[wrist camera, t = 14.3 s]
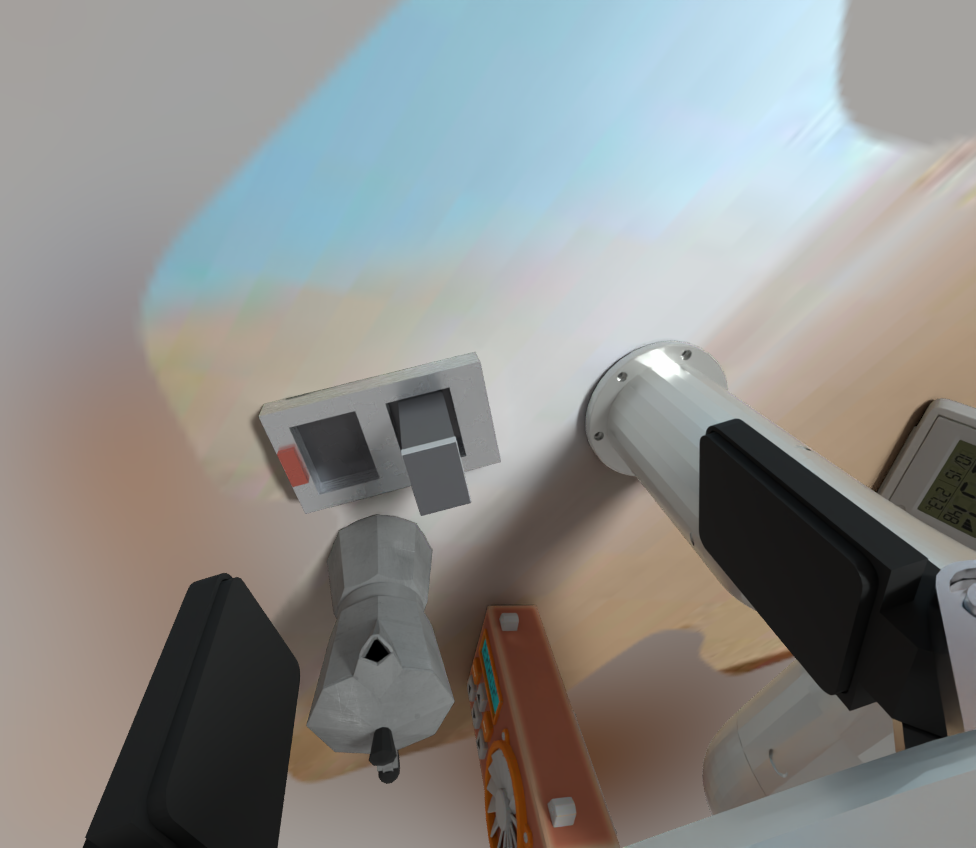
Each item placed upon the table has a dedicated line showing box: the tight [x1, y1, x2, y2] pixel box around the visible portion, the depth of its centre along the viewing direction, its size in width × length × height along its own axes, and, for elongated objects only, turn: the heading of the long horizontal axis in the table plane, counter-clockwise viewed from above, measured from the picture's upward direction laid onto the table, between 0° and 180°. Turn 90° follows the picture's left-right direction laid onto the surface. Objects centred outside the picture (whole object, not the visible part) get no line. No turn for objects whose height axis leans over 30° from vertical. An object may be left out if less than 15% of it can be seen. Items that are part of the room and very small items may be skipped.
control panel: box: [467, 605, 620, 848], centre depth 46 cm, size 21×7×15 cm
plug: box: [398, 389, 471, 516], centre depth 36 cm, size 4×5×8 cm
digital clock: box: [877, 398, 976, 551], centre depth 49 cm, size 16×9×11 cm, turn 163°
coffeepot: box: [306, 515, 455, 784], centre depth 38 cm, size 15×9×18 cm, turn 178°
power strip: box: [259, 352, 501, 514], centre depth 39 cm, size 16×9×2 cm, turn 101°
